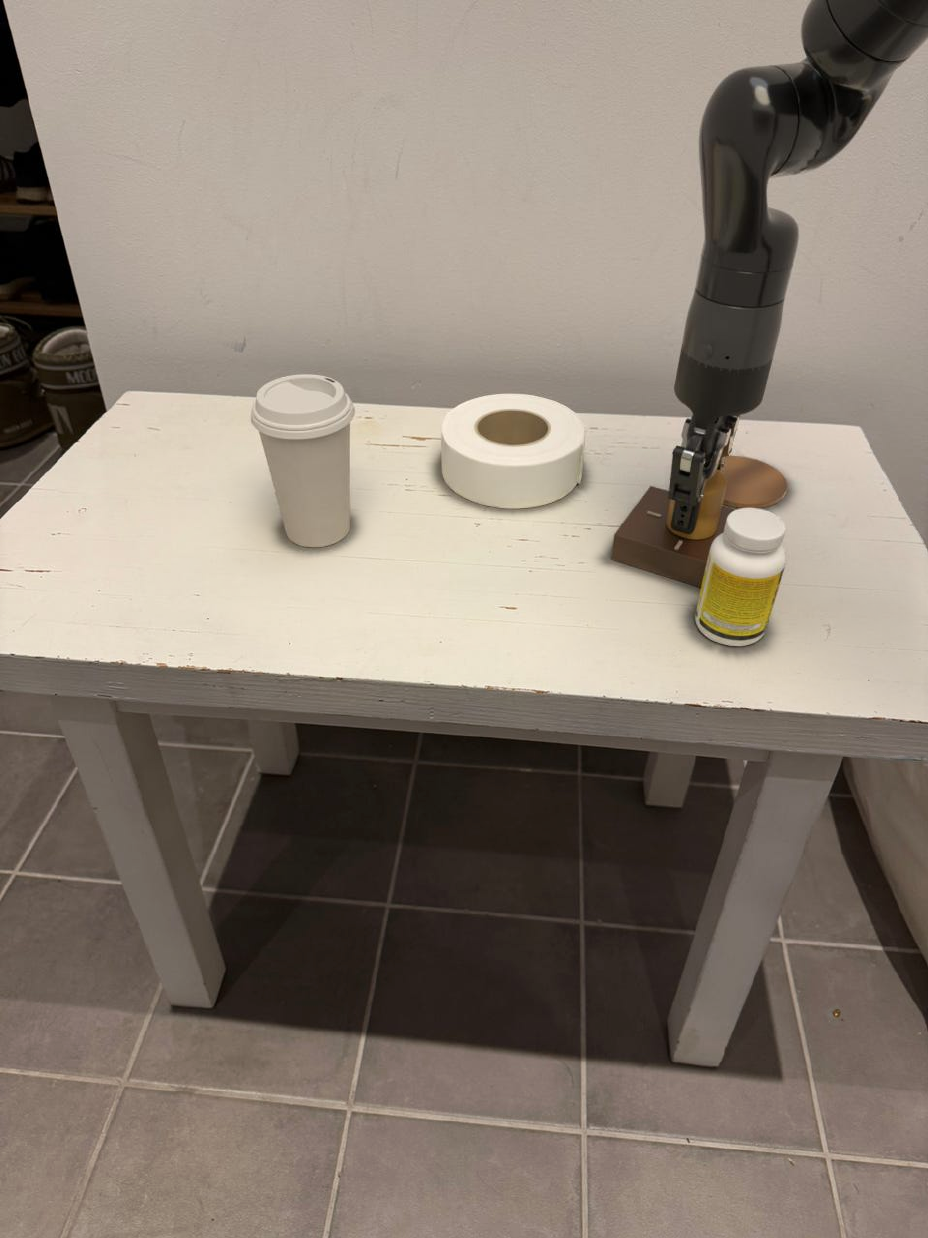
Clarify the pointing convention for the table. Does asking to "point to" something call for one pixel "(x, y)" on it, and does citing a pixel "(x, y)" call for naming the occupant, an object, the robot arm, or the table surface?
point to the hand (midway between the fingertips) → (691, 515)
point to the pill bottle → (742, 578)
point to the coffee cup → (308, 454)
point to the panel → (662, 541)
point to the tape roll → (512, 450)
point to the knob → (705, 509)
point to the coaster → (752, 483)
